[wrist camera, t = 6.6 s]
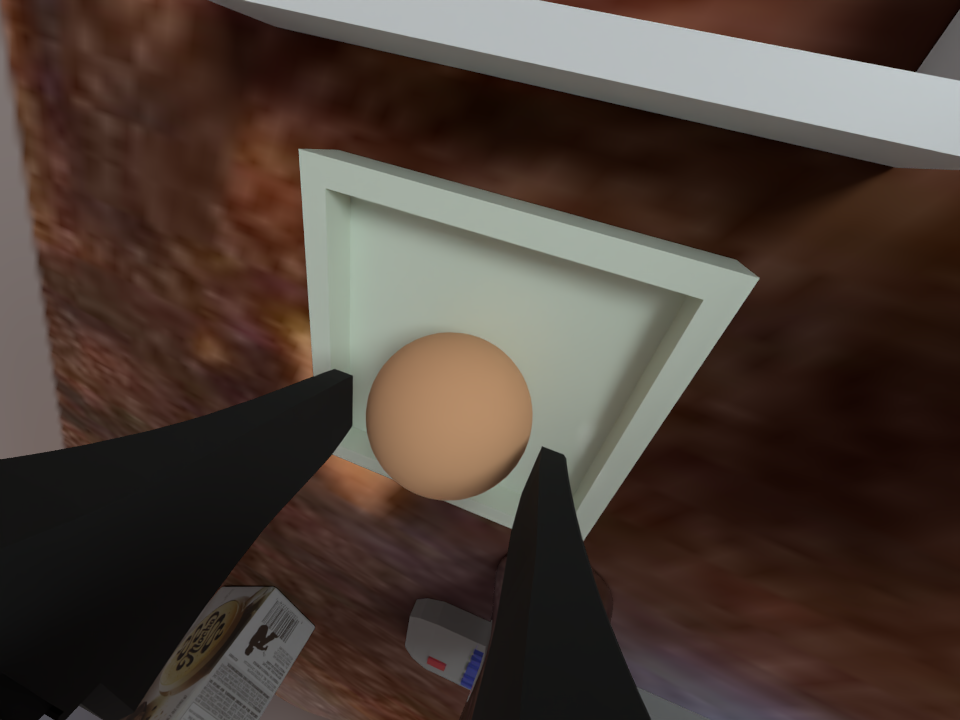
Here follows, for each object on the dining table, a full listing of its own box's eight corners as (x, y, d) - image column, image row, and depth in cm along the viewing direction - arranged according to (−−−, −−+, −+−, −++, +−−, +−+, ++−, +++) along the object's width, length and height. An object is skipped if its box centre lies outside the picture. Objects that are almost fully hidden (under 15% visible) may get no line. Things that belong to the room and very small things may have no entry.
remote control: (704, 764, 25) (712, 812, 23) (412, 631, 28) (398, 664, 26) (775, 736, 21) (792, 793, 19) (420, 583, 24) (405, 619, 22)
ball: (514, 289, 11) (467, 371, 7) (559, 416, 13) (543, 540, 9) (388, 327, 13) (292, 409, 9) (443, 432, 15) (385, 540, 11)
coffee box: (264, 622, 37) (72, 884, 24) (221, 583, 35) (-13, 847, 22) (319, 628, 33) (124, 949, 20) (275, 584, 31) (24, 911, 18)
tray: (337, 149, 11) (298, 148, 10) (736, 259, 9) (759, 278, 8) (341, 425, 18) (318, 448, 16) (576, 518, 16) (574, 554, 14)
